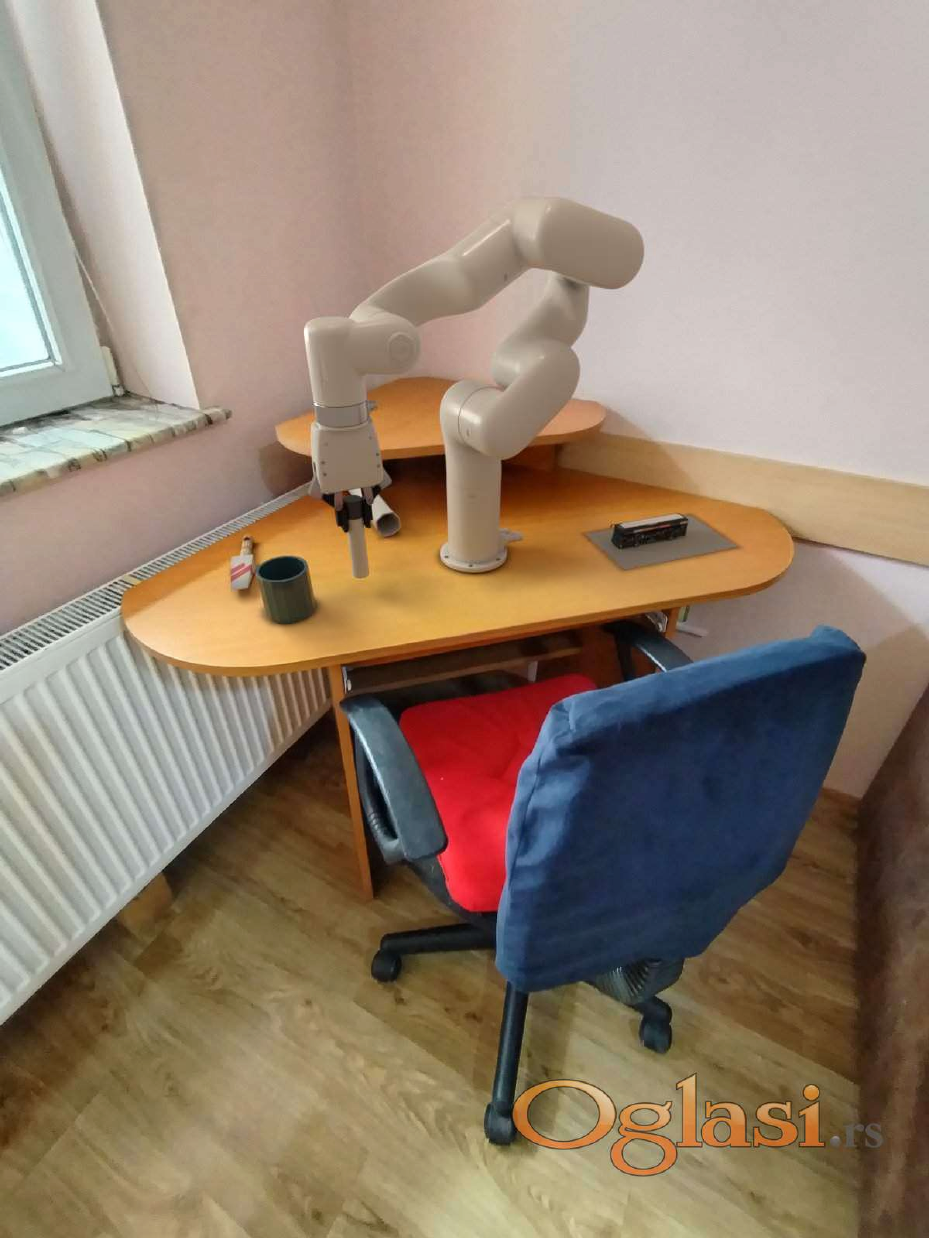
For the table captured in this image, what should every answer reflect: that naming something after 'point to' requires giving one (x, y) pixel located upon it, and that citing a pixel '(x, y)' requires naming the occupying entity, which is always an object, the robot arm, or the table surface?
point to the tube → (382, 516)
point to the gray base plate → (658, 540)
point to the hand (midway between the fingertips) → (355, 526)
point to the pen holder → (286, 589)
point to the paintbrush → (243, 565)
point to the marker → (356, 536)
